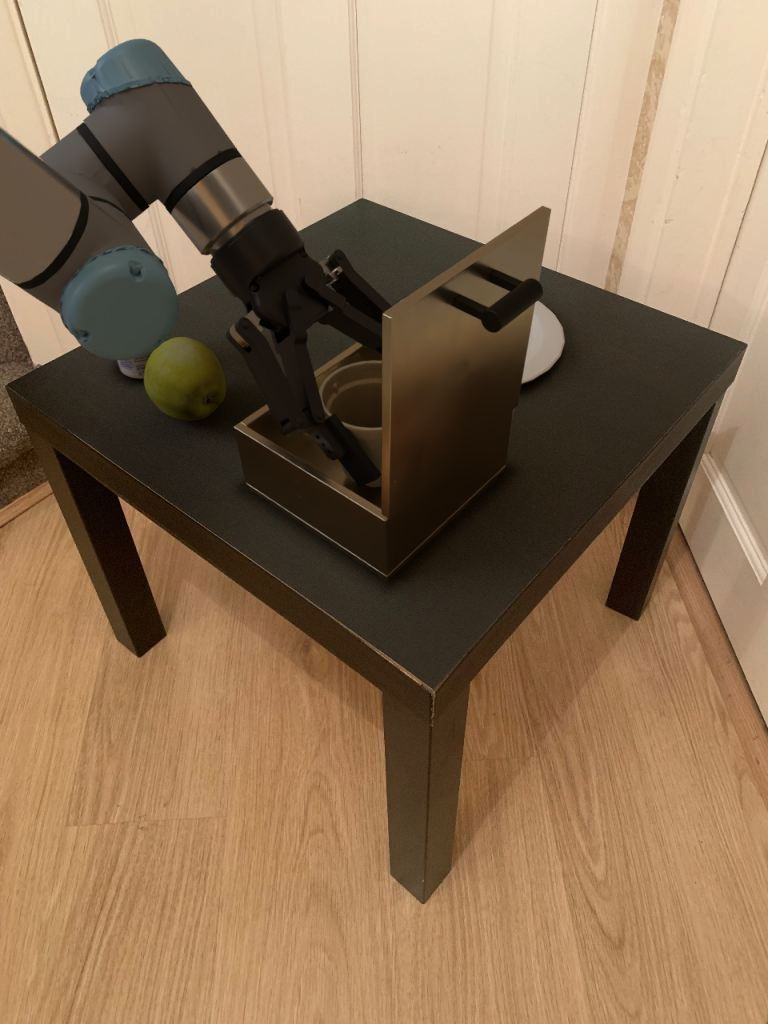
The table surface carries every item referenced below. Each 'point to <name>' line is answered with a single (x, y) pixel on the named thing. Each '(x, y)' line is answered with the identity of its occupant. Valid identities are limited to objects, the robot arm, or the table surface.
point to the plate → (542, 343)
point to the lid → (457, 357)
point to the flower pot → (358, 406)
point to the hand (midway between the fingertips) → (403, 447)
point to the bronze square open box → (357, 510)
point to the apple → (184, 379)
